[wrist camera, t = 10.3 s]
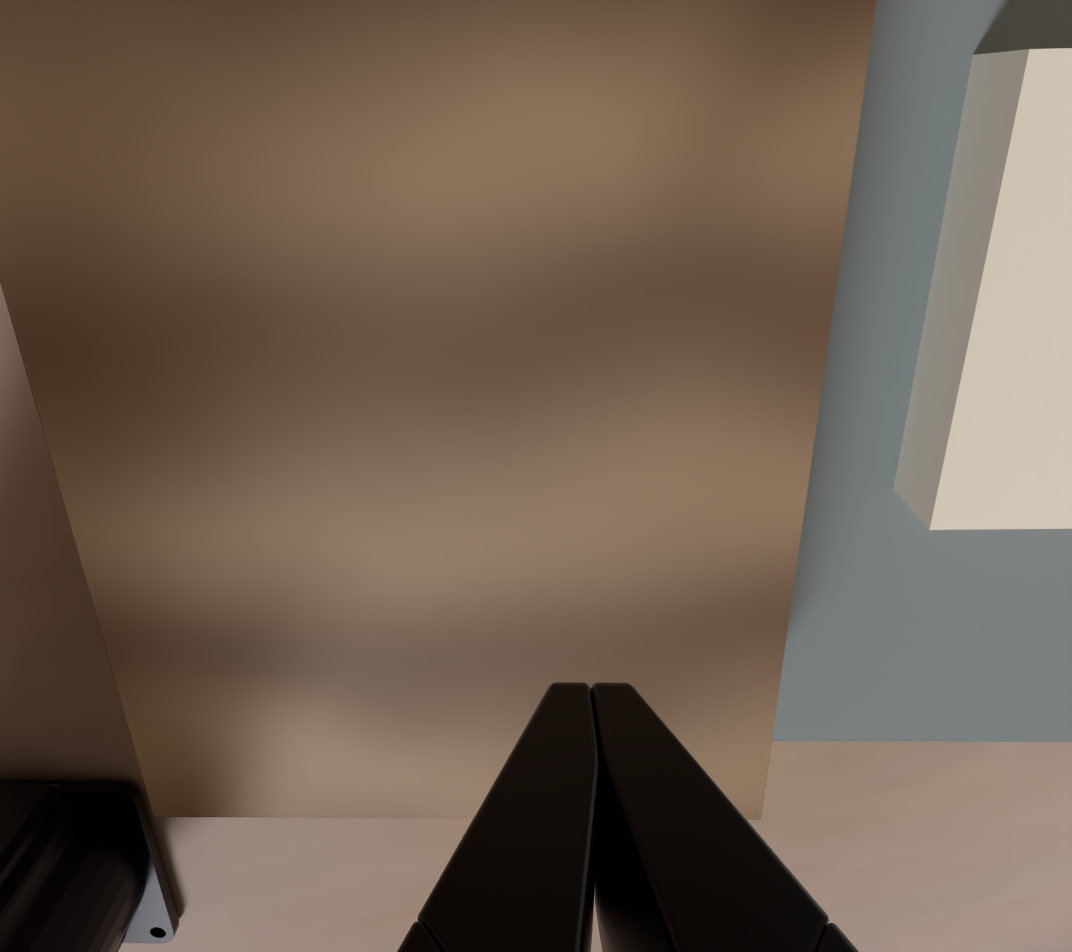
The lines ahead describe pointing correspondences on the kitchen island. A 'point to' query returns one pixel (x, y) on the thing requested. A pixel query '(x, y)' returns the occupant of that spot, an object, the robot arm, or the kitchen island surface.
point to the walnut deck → (427, 368)
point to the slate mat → (876, 437)
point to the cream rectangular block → (999, 311)
